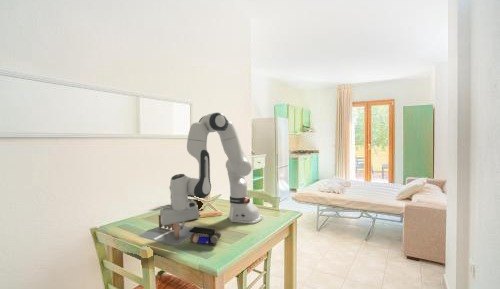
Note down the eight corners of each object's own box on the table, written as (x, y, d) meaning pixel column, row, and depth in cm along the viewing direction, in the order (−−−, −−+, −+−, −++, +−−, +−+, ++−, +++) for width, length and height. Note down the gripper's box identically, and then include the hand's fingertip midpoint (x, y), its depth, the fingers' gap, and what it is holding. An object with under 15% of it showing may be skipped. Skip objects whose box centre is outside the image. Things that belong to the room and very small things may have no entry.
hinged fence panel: (172, 230, 143) (172, 219, 143) (175, 229, 144) (175, 218, 143) (176, 238, 131) (175, 227, 131) (179, 238, 132) (179, 226, 131)
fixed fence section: (176, 229, 145) (176, 217, 145) (174, 230, 143) (173, 218, 143) (160, 226, 151) (160, 214, 150) (158, 227, 149) (157, 215, 149)
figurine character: (220, 244, 129) (193, 238, 132) (222, 229, 128) (194, 224, 131) (216, 250, 122) (187, 244, 125) (217, 235, 121) (188, 229, 125)
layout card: (203, 230, 143) (203, 229, 143) (176, 246, 124) (176, 245, 124) (167, 223, 156) (167, 222, 156) (137, 236, 137) (137, 235, 137)
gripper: (160, 209, 128) (162, 235, 129) (199, 202, 138) (200, 226, 139) (158, 206, 134) (160, 231, 135) (195, 199, 144) (197, 223, 145)
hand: (181, 229), depth 137 cm, fingers closed
